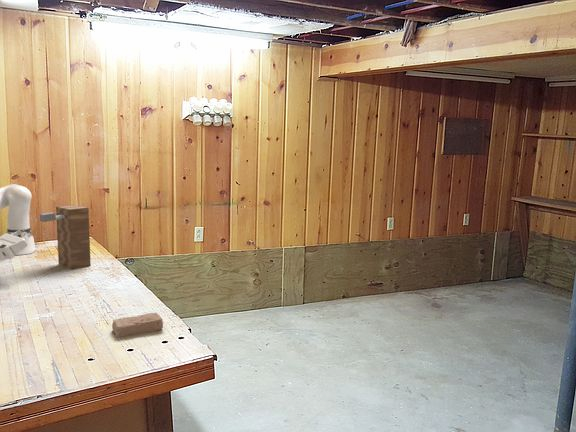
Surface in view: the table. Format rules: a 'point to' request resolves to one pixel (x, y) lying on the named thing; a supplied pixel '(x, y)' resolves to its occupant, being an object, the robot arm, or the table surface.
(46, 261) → the table surface
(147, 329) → the brick
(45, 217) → the grey stepped bar
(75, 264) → the post
